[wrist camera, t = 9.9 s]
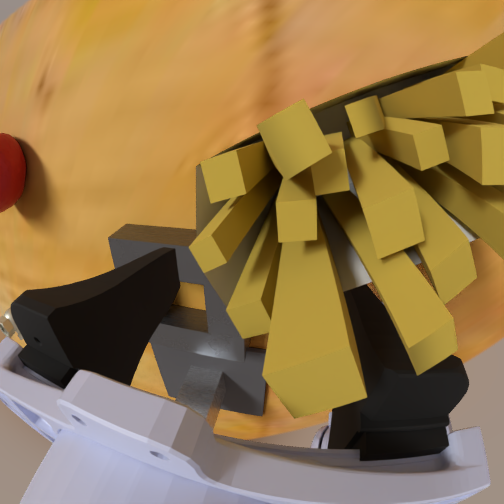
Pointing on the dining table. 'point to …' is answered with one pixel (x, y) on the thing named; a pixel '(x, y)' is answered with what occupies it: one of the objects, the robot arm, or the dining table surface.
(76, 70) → the dining table surface
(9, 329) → the valve
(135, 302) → the robot arm
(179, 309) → the socket block
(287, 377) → the french fries container
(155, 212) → the dining table surface
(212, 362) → the rubber mat
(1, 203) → the pomegranate
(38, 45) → the dining table surface
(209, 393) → the steel peg
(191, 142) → the dining table surface
